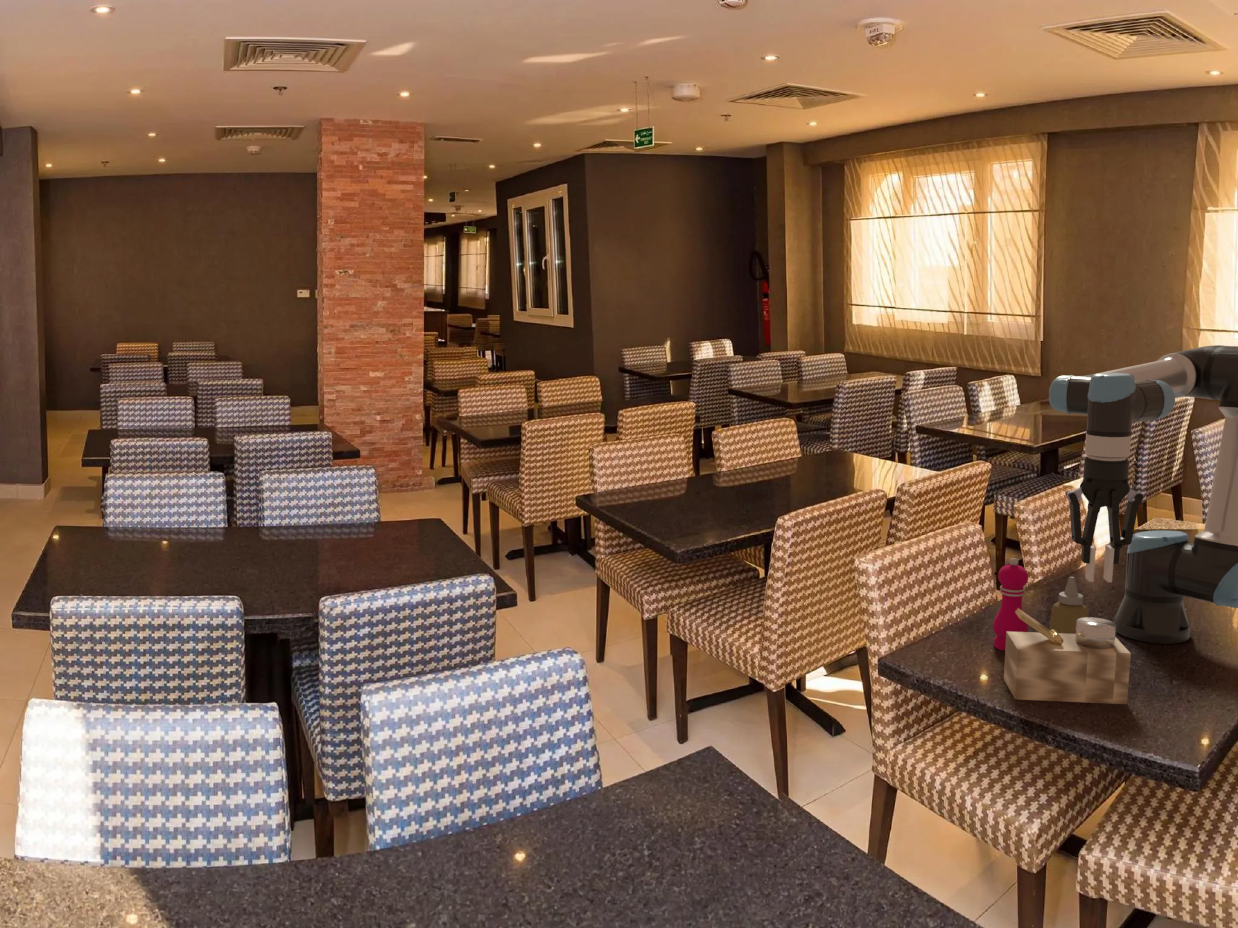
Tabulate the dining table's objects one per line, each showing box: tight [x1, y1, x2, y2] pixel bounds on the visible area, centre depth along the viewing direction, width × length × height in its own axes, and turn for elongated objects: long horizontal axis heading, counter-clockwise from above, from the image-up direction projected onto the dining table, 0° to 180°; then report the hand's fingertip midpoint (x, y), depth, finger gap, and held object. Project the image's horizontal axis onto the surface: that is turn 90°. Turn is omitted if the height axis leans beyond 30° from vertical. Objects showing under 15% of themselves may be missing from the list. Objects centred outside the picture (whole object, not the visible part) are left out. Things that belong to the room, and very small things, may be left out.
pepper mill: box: [992, 557, 1029, 652], centre depth 220 cm, size 7×7×20 cm
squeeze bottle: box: [1048, 576, 1089, 634], centre depth 211 cm, size 8×8×18 cm
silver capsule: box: [1075, 616, 1116, 649], centre depth 195 cm, size 7×7×12 cm
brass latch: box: [1015, 608, 1063, 645], centre depth 196 cm, size 9×4×2 cm
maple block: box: [1003, 631, 1132, 705], centre depth 196 cm, size 20×10×10 cm, turn 81°
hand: (1098, 579), depth 193 cm, fingers open, 3 cm apart
